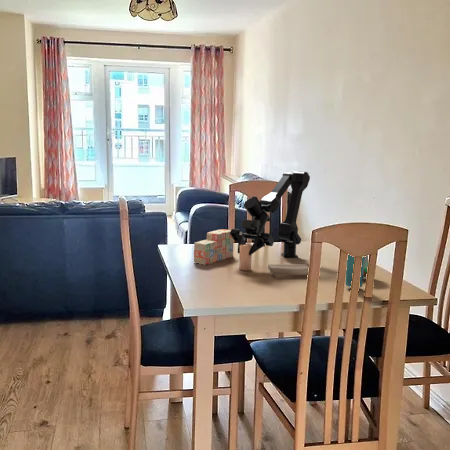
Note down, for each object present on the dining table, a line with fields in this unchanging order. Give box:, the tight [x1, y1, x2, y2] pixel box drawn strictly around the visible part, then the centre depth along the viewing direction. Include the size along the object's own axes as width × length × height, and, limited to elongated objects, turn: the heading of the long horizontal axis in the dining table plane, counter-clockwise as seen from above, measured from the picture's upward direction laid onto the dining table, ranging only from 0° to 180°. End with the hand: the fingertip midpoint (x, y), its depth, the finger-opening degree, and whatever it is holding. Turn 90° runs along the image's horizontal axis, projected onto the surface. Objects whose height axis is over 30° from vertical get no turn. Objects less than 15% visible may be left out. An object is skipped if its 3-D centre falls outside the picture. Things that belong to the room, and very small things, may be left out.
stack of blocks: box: [193, 228, 234, 266], centre depth 232 cm, size 21×6×12 cm, turn 146°
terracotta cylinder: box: [238, 243, 253, 271], centre depth 217 cm, size 5×5×10 cm
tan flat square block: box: [267, 263, 309, 280], centre depth 214 cm, size 16×16×2 cm
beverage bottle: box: [345, 255, 365, 288], centre depth 191 cm, size 6×7×20 cm
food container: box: [363, 256, 368, 282], centre depth 207 cm, size 12×6×10 cm, turn 168°
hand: (243, 253), depth 215 cm, fingers closed on terracotta cylinder, 5 cm apart
